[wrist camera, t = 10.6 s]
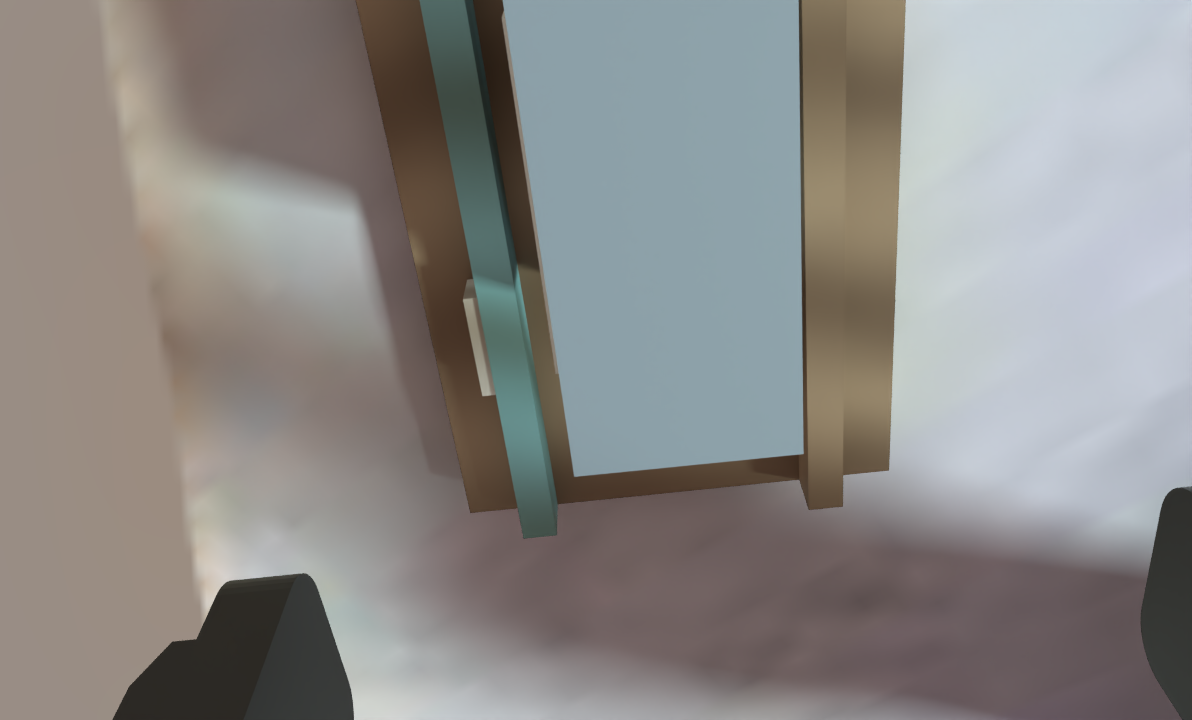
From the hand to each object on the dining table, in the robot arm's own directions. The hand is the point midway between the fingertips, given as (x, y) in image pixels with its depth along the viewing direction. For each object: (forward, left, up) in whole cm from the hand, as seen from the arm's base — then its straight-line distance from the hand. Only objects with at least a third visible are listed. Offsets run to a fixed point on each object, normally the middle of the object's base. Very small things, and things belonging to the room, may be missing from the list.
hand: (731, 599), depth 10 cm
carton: (0, 0, -18) cm, 18 cm away
